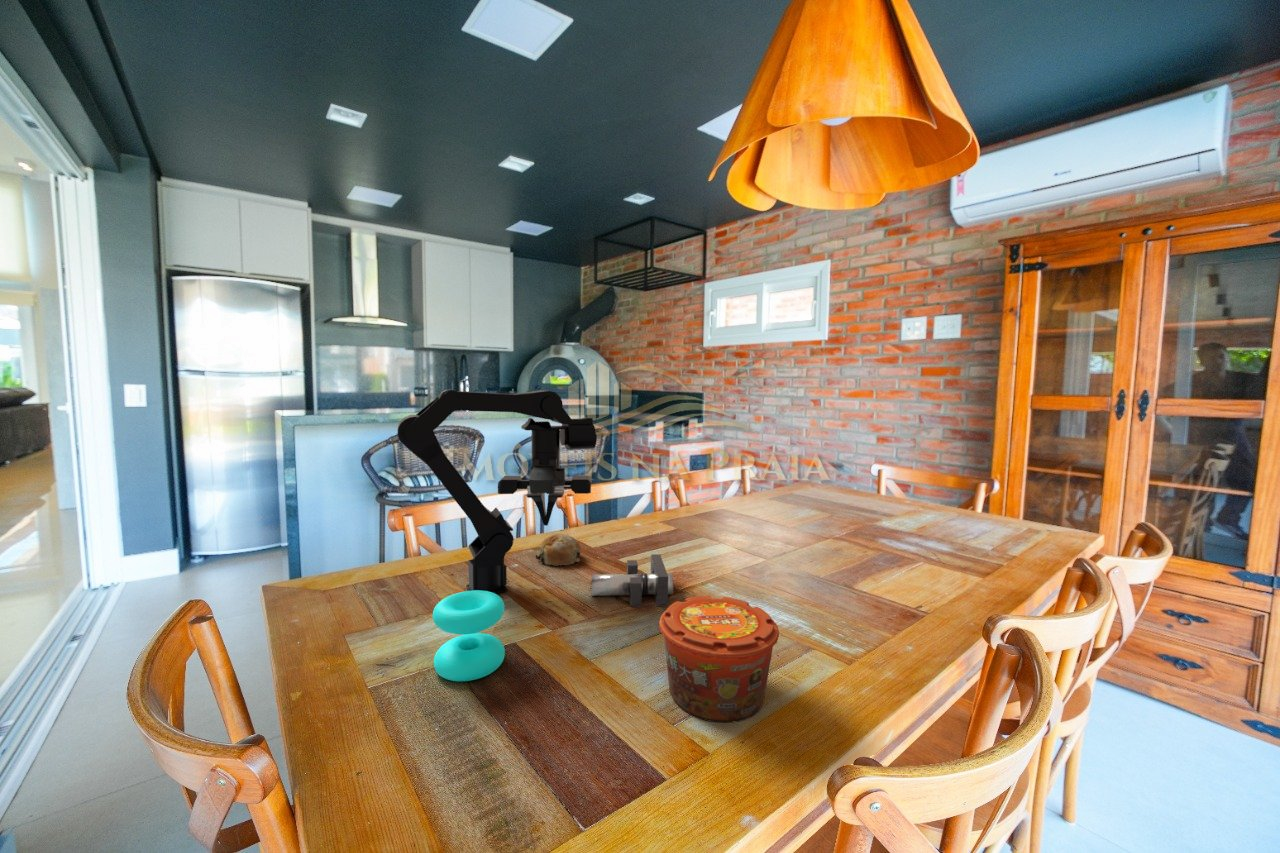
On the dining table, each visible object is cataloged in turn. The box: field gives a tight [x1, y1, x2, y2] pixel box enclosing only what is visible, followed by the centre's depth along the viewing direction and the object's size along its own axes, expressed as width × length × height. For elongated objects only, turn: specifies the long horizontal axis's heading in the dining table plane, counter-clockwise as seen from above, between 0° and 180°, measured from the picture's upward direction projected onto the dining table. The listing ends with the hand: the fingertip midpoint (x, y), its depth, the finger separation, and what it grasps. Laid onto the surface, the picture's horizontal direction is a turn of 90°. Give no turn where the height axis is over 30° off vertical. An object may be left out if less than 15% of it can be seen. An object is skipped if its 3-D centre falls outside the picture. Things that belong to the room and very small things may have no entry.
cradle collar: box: [626, 559, 642, 608], centre depth 103 cm, size 2×12×4 cm, turn 5°
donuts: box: [432, 590, 506, 682], centre depth 76 cm, size 10×10×10 cm
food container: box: [658, 595, 780, 723], centre depth 70 cm, size 16×16×11 cm
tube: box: [590, 573, 674, 597], centre depth 103 cm, size 16×4×4 cm, turn 94°
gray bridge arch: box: [650, 553, 669, 607], centre depth 104 cm, size 2×12×6 cm, turn 5°
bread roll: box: [535, 533, 581, 567], centre depth 122 cm, size 10×10×8 cm
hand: (545, 525), depth 108 cm, fingers closed
